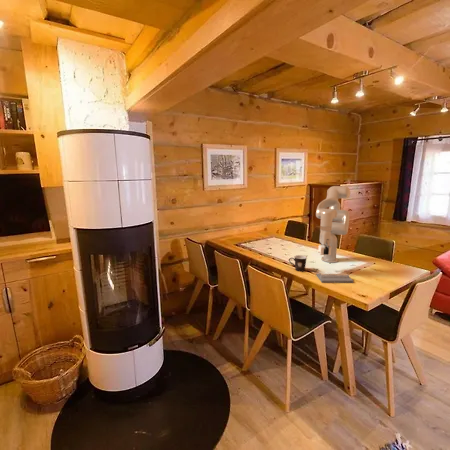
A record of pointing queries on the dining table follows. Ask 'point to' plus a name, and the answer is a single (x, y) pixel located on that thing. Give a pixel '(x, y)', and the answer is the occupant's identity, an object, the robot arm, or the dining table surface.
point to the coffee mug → (299, 262)
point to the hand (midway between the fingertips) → (324, 252)
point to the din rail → (334, 275)
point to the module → (321, 250)
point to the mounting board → (335, 280)
